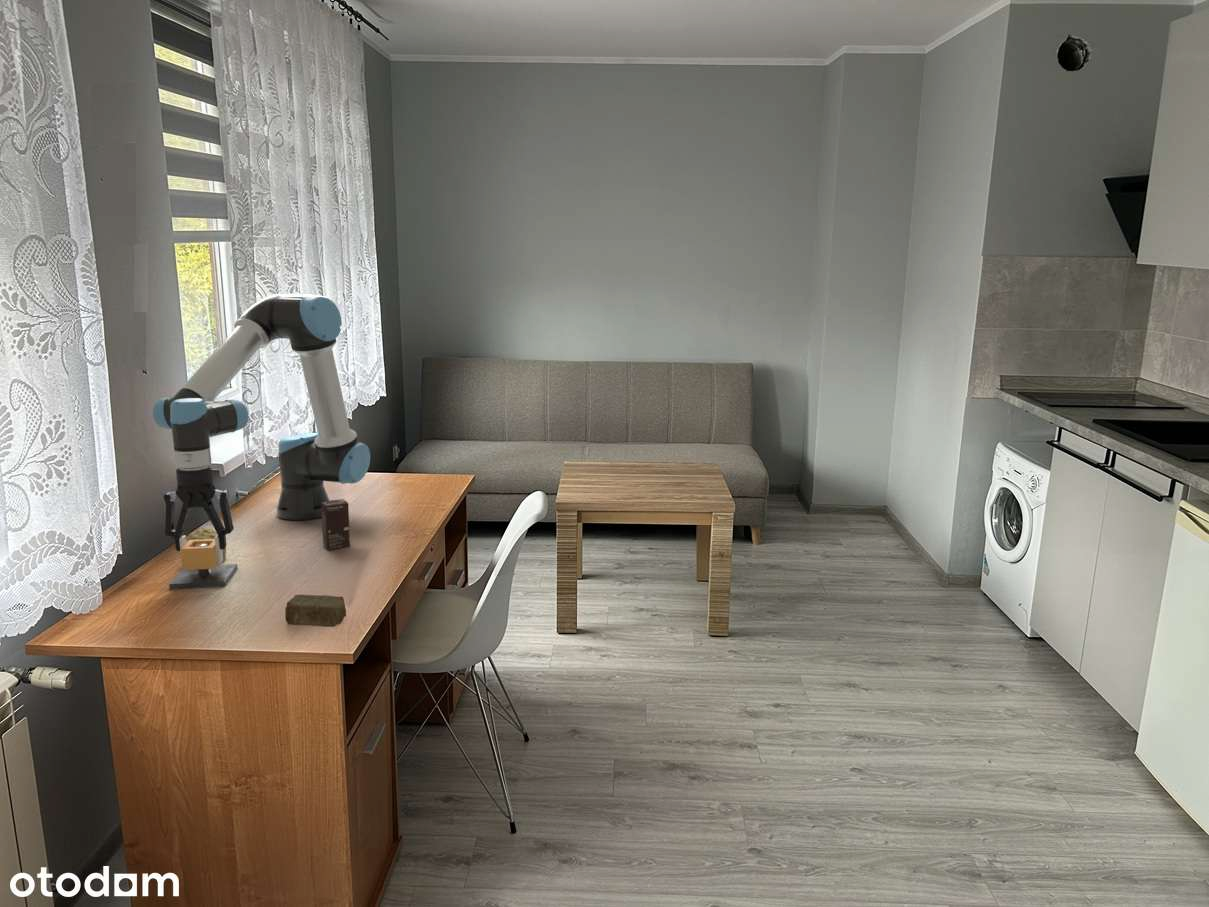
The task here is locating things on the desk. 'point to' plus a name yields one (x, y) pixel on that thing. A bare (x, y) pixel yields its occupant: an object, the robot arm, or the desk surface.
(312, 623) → the stone block
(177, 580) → the keeper
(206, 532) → the decorative item
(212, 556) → the tan square-hole block
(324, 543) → the box
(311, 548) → the desk surface
